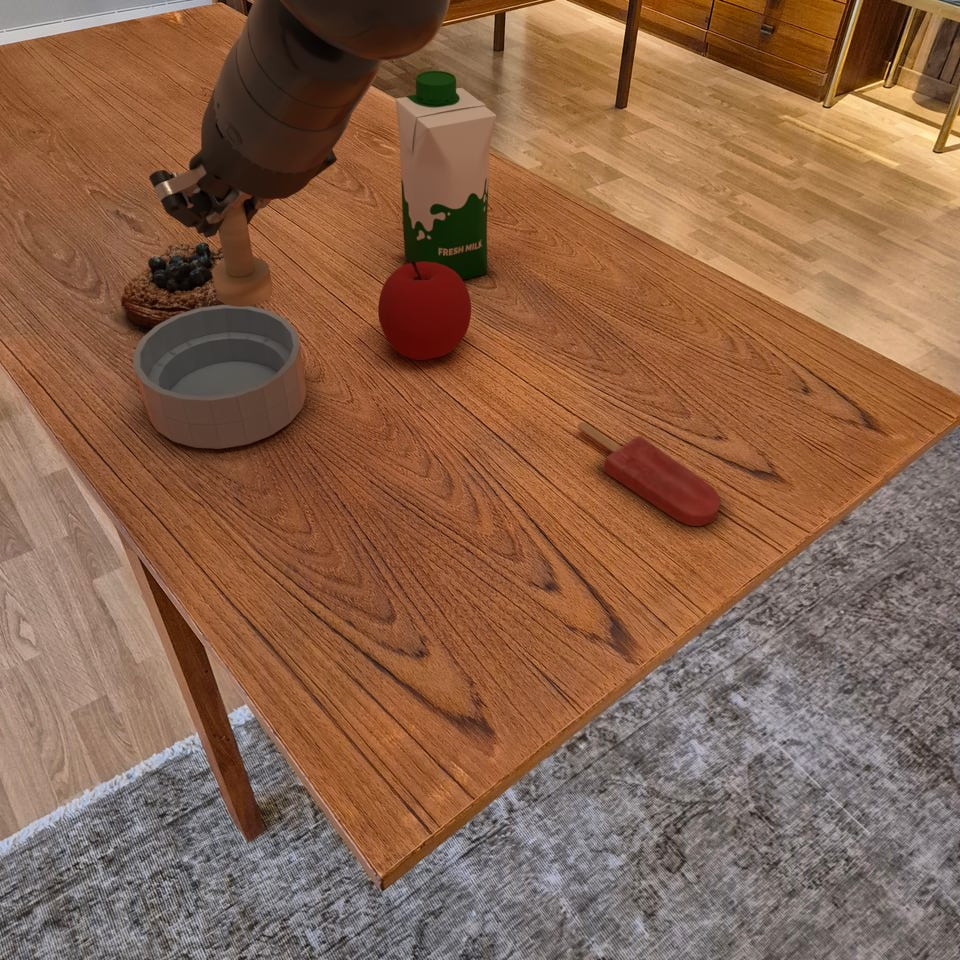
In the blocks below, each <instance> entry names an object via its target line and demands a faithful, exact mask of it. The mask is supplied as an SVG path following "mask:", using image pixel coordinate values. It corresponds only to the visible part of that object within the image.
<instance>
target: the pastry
mask: <svg viewBox="0 0 960 960" xmlns="http://www.w3.org/2000/svg"><path fill="white" fill-rule="evenodd" d="M167 247H168V248H166V250H165V251H164V252H163V253H162V254H160V256H155V255H154V256H153V257H150V258H149V259H148V260H147V265H148V267H146V268H145V269H144V270H143V271H142V272H141V273H140V274H137V275H136V276H135V277H134V278H132V279H131V280H129V281H128V284H127V285H125V286H124V287H123V293H122V295H121V298H120V302H121V307H123V309H124V310H125V311H126V312H125V313H126V314H125V315H126V318H127V319H128V320H129V322H131V324H133V326H135V327H136V328H137V329H139V330H141V331H142V332H145V333H146V334H147V333H148V332H149V331H151V330H152V329H153V328H154V327H155V326H157V325H158V324H160V323H162V322H164V321H166V320H168V319H169V318H171V317H173V316H175V315H177V314H181V313H184V312H187V311H191V310H194V309H197V308H202V307H209V306H217V305H227V304H224V303H222V302H221V301H220V300H219V299H218V298H217V295H216V290H215V285H214V281H213V276H212V271H213V269H214V267H215V266H216V265H217V264H218V263H220V262H221V261H223V260H224V257H223V252H222V247H218V249H212V250H211V249H210V245H209V243H207V242H200V243H198V244H195V245H194V246H193V245H191V244H189V243H180V242H178V243H176V244H175V243H174V244H170V245H168V246H167Z"/></svg>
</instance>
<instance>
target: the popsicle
mask: <svg viewBox="0 0 960 960" xmlns="http://www.w3.org/2000/svg"><path fill="white" fill-rule="evenodd" d="M577 428H578V429H579V431H581V432H583V433H584V434H586V435H587V436H588V437H589V438H591V439H593V440H594V441H596V442H597V443H599V444H600V445H602V446H603V447H605V448H606V449H607V450H609V452H611V453H610V454H609V455H607V456H606V457H605V460H604V465H603V472H604V473H605V474H606V475H608V476H609V477H611V478H612V479H614V480H616V481H617V482H619V483H620V484H622V485H623V486H625V487H626V488H628V489H629V490H630V491H632V492H634V493H635V494H636V495H638V496H640V497H641V498H642V499H644V500H645V501H647V502H649V503H650V504H651V505H653V506H655V507H656V508H658V509H659V510H660V511H662V512H663V513H665V514H667V515H668V516H670V517H671V518H672V519H674V520H676V521H677V522H679V523H682V524H684V525H687V526H692V527H703V526H706V525H708V524H710V523H712V522H713V521H714V520H716V518H717V515H718V513H719V510H720V506H721V497H720V495H719V493H718V492H717V491H716V490H715V488H713V486H711V485H710V484H709V483H708V482H706V481H705V480H703V479H702V478H700V477H699V476H698V475H697V474H695V473H693V472H692V471H691V470H690V469H688V468H687V467H685V466H684V465H683V464H681V463H680V462H678V461H677V460H675V459H674V458H672V457H671V456H670V455H668V454H667V453H665V452H664V451H663V450H661V449H660V448H658V447H657V446H655V445H654V444H653V443H652V442H650V441H649V440H647V439H646V438H645V437H643V436H641V435H637V436H636V437H634V438H632V439H631V440H629V441H628V442H626V443H625V444H624V445H622V446H621V445H619V444H618V443H617V442H615V441H614V440H612V439H610V438H609V437H607V436H606V435H604V434H603V433H602V432H600V431H599V430H597V429H596V428H594V427H593V426H591V425H590V424H589V423H587V422H584V421H581V422H579V423H578V424H577Z"/></svg>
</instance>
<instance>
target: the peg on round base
mask: <svg viewBox="0 0 960 960" xmlns="http://www.w3.org/2000/svg"><path fill="white" fill-rule="evenodd" d="M248 225H249V224H248ZM248 225H247V219H246V213H245V208H244V202H243V203H242V205H241V206H240V207H239V209H238V210H237V211H236V212H233V213H230V214H226V215H225V217H224V220H223V222H222V224H221V226H220V227H219V229H218V231H217V233H218V237H219V242H220V248H222V252H223V257H224V260H223V261H221V262H220V263H218V264H217V265H216V266H215V267H214V269H213V271H212V276H213V281H214V285H215V290H216V295H217V298H218V299H219V300H220V301H221V302H222V303H224V304H227V305H230V306H235V307H246V306H252V307H253V306H255V305H258V304H260V303H263V302H265V301H267V300H268V299H269V298H270V297H271V295H272V293H273V292H274V291H273V290H274V289H273V281H272V275H271V270H270V266H269V264H268V263H267V262H266V261H265V260H263V258H260V257H256V256H254V254H253V249H252V243H251V238H250V232H249V226H248Z"/></svg>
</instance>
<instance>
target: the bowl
mask: <svg viewBox="0 0 960 960" xmlns="http://www.w3.org/2000/svg"><path fill="white" fill-rule="evenodd" d="M132 355H133V356H132V357H133V358H132V363H133V364H132V368H133V372H134V375H135V379H136V382H137V385H138V388H139V391H140V395H141V398H142V402H143V405H144V408H145V411H146V415H147V418H148V419H149V421H150V422H151V424H152V426H153V427H154V429H155V431H157V432H158V433H160V434H161V435H163V436H164V437H165V438H167V439H169V440H170V441H171V442H174V443H177V444H180V445H184V446H188V447H191V448H196V449H215V450H216V449H217V450H220V449H229V448H234V447H241V446H246V445H250V444H252V443H255V442H258V441H260V440H263V439H266V438H268V437H271V436H273V435H274V434H276V433H277V432H279V431H281V430H282V429H283V428H285V427H286V426H288V425H289V424H290V423H292V422H293V420H294V419H295V418H296V417H297V416H298V414H299V413H300V412H301V411H302V409H303V407H304V404H305V400H306V397H307V385H306V378H305V371H304V370H305V369H304V363H303V356H302V348H301V343H300V339H299V335H298V331H297V330H296V328H294V326H292V324H291V323H290V322H289V321H288V320H287V318H284V317H283V316H280V315H279V314H277V313H275V312H274V311H271V310H268V309H264V308H260V307H256V306H253V305H252V306H246V307H235V306H230V305H217V306H209V307H202V308H197V309H194V310H191V311H187V312H184V313H181V314H177V315H175V316H173V317H171V318H169V319H168V320H166V321H164V322H162V323H160V324H158V325H157V326H155V327H154V328H153V329H152V330H151V331H149V332H148V333H147V332H146V334H145V335H144V336H142V337H141V339H140V340H139V342H138V344H137V346H136V348H135V350H134V351H133V354H132Z"/></svg>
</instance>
